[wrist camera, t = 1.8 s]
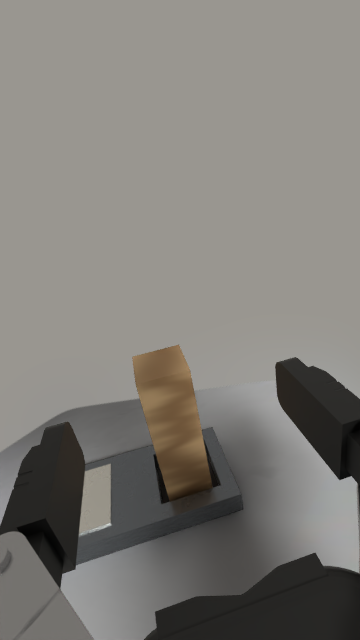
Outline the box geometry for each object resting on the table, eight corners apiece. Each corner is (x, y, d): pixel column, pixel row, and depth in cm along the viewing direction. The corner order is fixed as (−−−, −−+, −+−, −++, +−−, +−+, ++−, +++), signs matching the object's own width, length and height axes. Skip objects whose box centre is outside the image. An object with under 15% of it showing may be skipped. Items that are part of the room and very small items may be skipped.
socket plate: (30, 580, 24) (19, 564, 23) (49, 490, 31) (41, 476, 30) (243, 509, 26) (240, 492, 25) (214, 440, 33) (212, 425, 32)
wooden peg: (172, 509, 27) (135, 384, 21) (164, 472, 31) (132, 356, 25) (214, 495, 28) (189, 369, 22) (202, 460, 31) (178, 344, 25)
